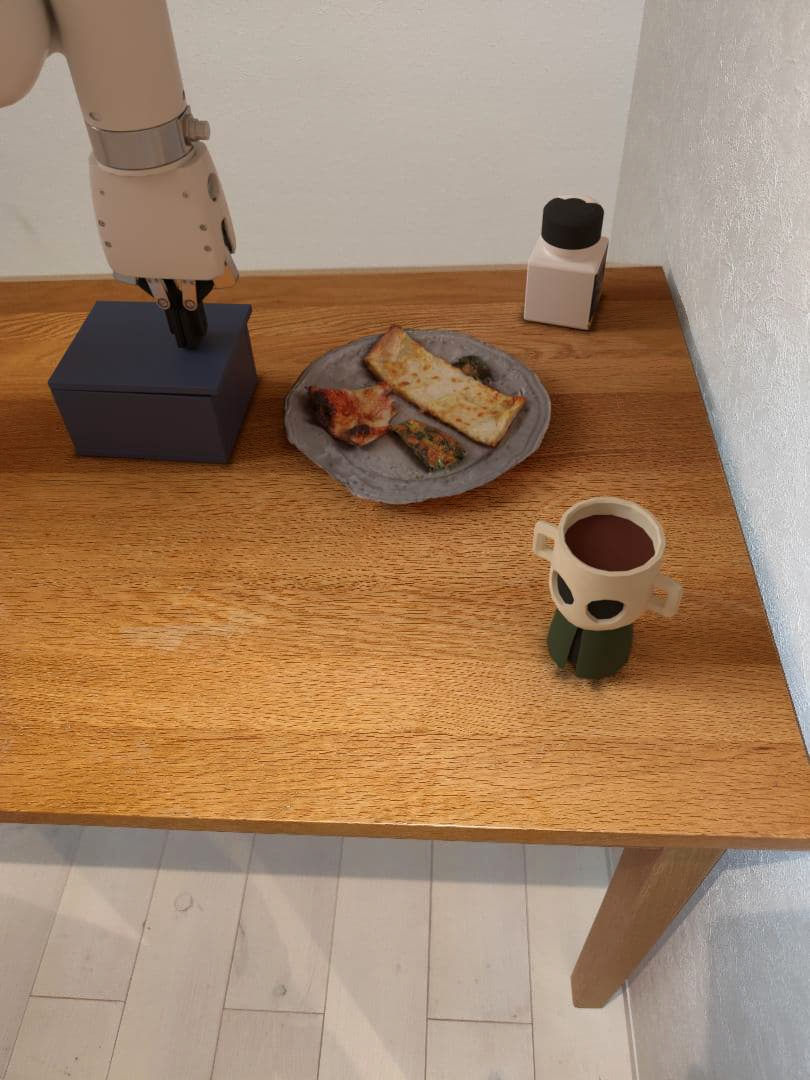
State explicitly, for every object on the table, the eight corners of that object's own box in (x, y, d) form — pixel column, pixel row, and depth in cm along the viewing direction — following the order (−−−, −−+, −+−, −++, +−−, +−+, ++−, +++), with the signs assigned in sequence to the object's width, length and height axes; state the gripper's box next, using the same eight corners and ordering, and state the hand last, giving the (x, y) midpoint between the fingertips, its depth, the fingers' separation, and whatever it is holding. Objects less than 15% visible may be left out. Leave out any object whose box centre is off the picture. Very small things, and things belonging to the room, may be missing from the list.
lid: (252, 310, 85) (251, 303, 84) (219, 395, 77) (217, 388, 76) (99, 307, 87) (96, 300, 86) (49, 389, 78) (46, 382, 78)
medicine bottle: (588, 331, 94) (603, 226, 85) (522, 321, 96) (530, 216, 87) (601, 295, 99) (616, 191, 90) (537, 285, 101) (546, 183, 92)
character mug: (501, 648, 68) (510, 534, 58) (547, 587, 72) (562, 470, 62) (633, 718, 64) (666, 608, 54) (674, 649, 67) (712, 534, 58)
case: (258, 378, 91) (245, 313, 85) (227, 464, 83) (210, 398, 77) (121, 372, 93) (99, 307, 87) (77, 455, 84) (49, 389, 78)
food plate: (241, 414, 87) (235, 385, 85) (419, 318, 97) (418, 290, 94) (409, 556, 74) (407, 528, 72) (595, 429, 84) (599, 400, 81)
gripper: (250, 116, 68) (281, 319, 82) (65, 111, 70) (126, 311, 84) (226, 161, 64) (263, 369, 77) (26, 155, 65) (98, 360, 79)
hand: (191, 339), depth 80 cm, fingers closed
